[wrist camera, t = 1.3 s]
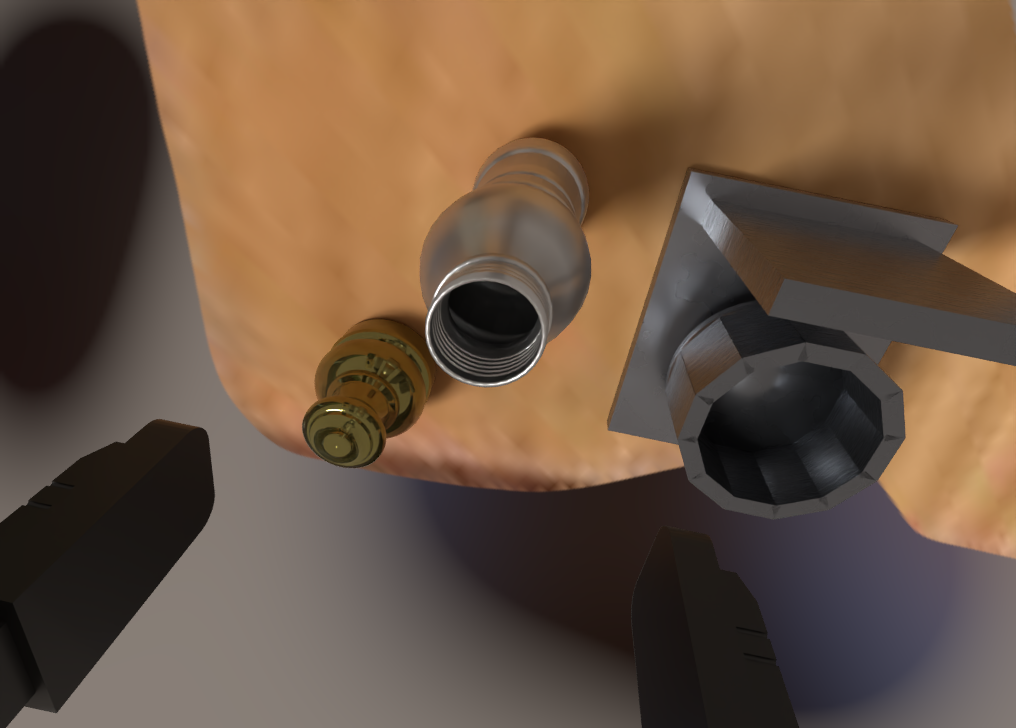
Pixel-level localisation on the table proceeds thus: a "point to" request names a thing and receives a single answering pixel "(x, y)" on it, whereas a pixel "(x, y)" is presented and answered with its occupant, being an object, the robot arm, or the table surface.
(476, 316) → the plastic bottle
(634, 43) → the table surface
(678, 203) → the cup bracket
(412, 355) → the brass knob
